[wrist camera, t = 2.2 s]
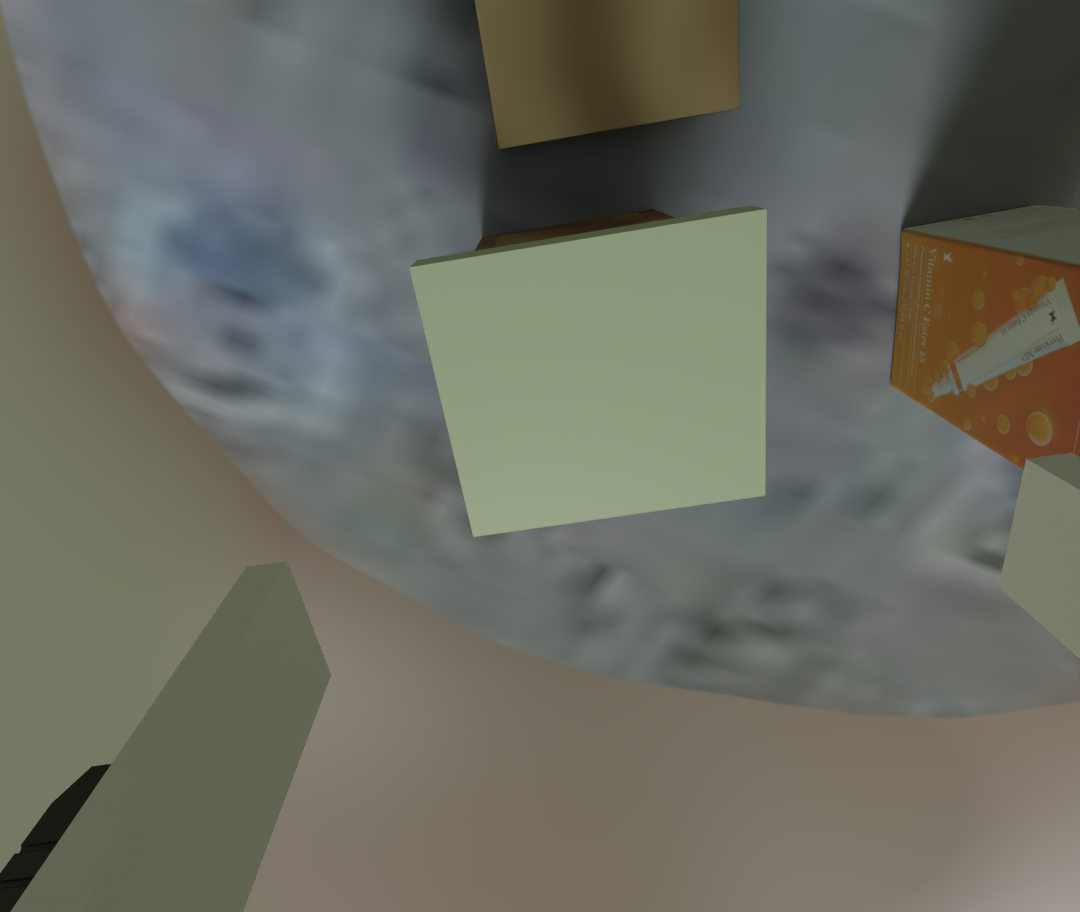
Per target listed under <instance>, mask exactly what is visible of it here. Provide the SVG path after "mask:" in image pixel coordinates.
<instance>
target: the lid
mask: <svg viewBox="0 0 1080 912" xmlns="http://www.w3.org/2000/svg"><path fill="white" fill-rule="evenodd" d="M766 260H767V209H765V208H760V207H755V206H745V207H739V208H732V209H726V210H720V211H714V212H708V213H702V214H696V215H690V216H684V217H678V218H672V219H666V220H659V221H653V222H647V223H641V224H635V225H629V226H623V227H617V228H611V229H605V230H599V231H592V232H586V233H580V234H574V235H568V236H562V237H556V238H550V239H544V240H538V241H532V242H526V243H519V244H513V245H507V246H501V247H495V248H489V249H483V250H477V251H471V252H465V253H459V254H452V255H446V256H440V257H434V258H428V259H422V260H417V261H416V262H415V263H414V264H412V265H411V266H410V267H409V268H410V273H411V277H412V281H413V285H414V289H415V294H416V298H417V302H418V306H419V310H420V315H421V319H422V323H423V327H424V331H425V336H426V340H427V344H428V348H429V352H430V357H431V361H432V365H433V369H434V373H435V378H436V382H437V386H438V390H439V395H440V399H441V403H442V407H443V411H444V416H445V420H446V424H447V428H448V432H449V437H450V441H451V445H452V449H453V453H454V458H455V462H456V466H457V470H458V474H459V479H460V483H461V487H462V491H463V495H464V500H465V504H466V508H467V512H468V516H469V521H470V525H471V529H472V533H473V537H476V536H483V535H490V534H497V533H504V532H511V531H518V530H526V529H533V528H540V527H547V526H554V525H561V524H568V523H575V522H582V521H589V520H596V519H603V518H610V517H617V516H624V515H631V514H638V513H646V512H653V511H660V510H667V509H674V508H681V507H688V506H695V505H702V504H709V503H716V502H723V501H730V500H737V499H744V498H751V497H758V496H765V454H766Z"/></svg>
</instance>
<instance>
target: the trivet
mask: <svg viewBox="0 0 1080 912" xmlns="http://www.w3.org/2000/svg"><path fill="white" fill-rule="evenodd" d="M475 6H476V12H477V18H478V24H479V30H480V36H481V42H482V48H483V54H484V61H485V67H486V73H487V79H488V85H489V91H490V97H491V103H492V109H493V116H494V122H495V128H496V134H497V140H498V146H499V149H505V148H511V147H517V146H523V145H528V144H534V143H540V142H546V141H552V140H558V139H563V138H569V137H575V136H581V135H587V134H592V133H598V132H604V131H610V130H616V129H622V128H627V127H633V126H639V125H645V124H651V123H656V122H662V121H668V120H674V119H680V118H685V117H691V116H697V115H703V114H709V113H715V112H720V111H726V110H731V109H735V108H739V42H738V0H475Z"/></svg>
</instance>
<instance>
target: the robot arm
mask: <svg viewBox="0 0 1080 912" xmlns="http://www.w3.org/2000/svg"><path fill="white" fill-rule="evenodd" d="M999 588H1001V589H1002V590H1003V591H1004V592H1005V593H1006V594H1007V595H1009V596H1010V597H1011V598H1012V599H1013V600H1014V601H1015V602H1016V603H1018V604H1019V605H1020V606H1021V607H1022V608H1023V609H1024V610H1026V611H1027V612H1028V613H1029V614H1030V615H1031V616H1032V617H1033V618H1035V619H1036V620H1037V621H1038V622H1039V623H1040V624H1041V625H1043V626H1044V627H1045V628H1046V629H1047V630H1048V631H1049V632H1051V633H1052V634H1053V635H1054V636H1055V637H1056V638H1057V639H1058V640H1060V641H1061V642H1062V643H1063V644H1064V645H1065V646H1066V647H1068V648H1069V649H1070V650H1071V651H1072V652H1073V653H1074V654H1076V655H1077V656H1078V657H1079V658H1080V457H1079V456H1077V455H1075V454H1073V453H1065V454H1058V455H1051V456H1043V457H1036V458H1029V459H1026V462H1025V467H1024V472H1023V476H1022V481H1021V486H1020V490H1019V495H1018V500H1017V504H1016V509H1015V514H1014V518H1013V523H1012V528H1011V532H1010V537H1009V542H1008V546H1007V551H1006V556H1005V560H1004V565H1003V570H1002V574H1001V579H1000V584H999ZM330 676H331V673H330V671H329V669H328V665H327V663H326V660H325V658H324V655H323V652H322V650H321V647H320V645H319V642H318V639H317V637H316V634H315V632H314V629H313V626H312V624H311V621H310V618H309V616H308V613H307V611H306V608H305V605H304V603H303V601H302V598H301V595H300V593H299V590H298V587H297V585H296V582H295V580H294V577H293V575H292V572H291V569H290V566H289V564H288V562H287V561H285V562H279V563H272V564H263V565H256V566H250V567H246V568H245V569H244V571H243V573H242V574H241V575H240V577H239V578H238V580H237V581H236V583H235V584H234V586H233V587H232V589H231V590H230V591H229V593H228V594H227V596H226V598H225V599H224V600H223V602H222V603H221V605H220V606H219V608H218V609H217V610H216V612H215V613H214V615H213V616H212V618H211V619H210V621H209V622H208V624H207V625H206V626H205V628H204V630H203V631H202V633H201V634H200V635H199V637H198V638H197V640H196V641H195V643H194V644H193V645H192V647H191V649H190V650H189V651H188V653H187V654H186V656H185V657H184V659H183V660H182V662H181V663H180V665H179V666H178V668H177V669H176V670H175V672H174V673H173V675H172V676H171V678H170V679H169V681H168V682H167V684H166V685H165V687H164V688H163V690H162V691H161V692H160V694H159V695H158V697H157V698H156V700H155V701H154V703H153V704H152V705H151V707H150V709H149V710H148V711H147V713H146V714H145V716H144V717H143V719H142V720H141V722H140V723H139V724H138V726H137V727H136V729H135V730H134V732H133V733H132V735H131V736H130V738H129V739H128V741H127V742H126V743H125V745H124V746H123V748H122V749H121V751H120V752H119V754H118V755H117V757H116V758H115V760H114V761H113V762H112V764H109V765H100V766H92V767H91V768H90V769H89V770H88V771H86V772H85V773H84V774H83V775H82V776H81V777H80V778H79V779H78V780H77V781H76V782H75V783H73V784H72V785H71V786H70V787H69V788H68V789H67V790H66V791H65V792H64V793H62V794H61V795H60V796H59V797H58V798H57V799H56V800H55V801H54V802H53V803H52V804H51V805H50V806H49V808H48V809H47V810H46V812H45V813H44V815H43V816H42V817H41V819H40V820H39V821H38V823H37V824H36V825H35V827H34V828H33V829H32V831H31V832H30V834H29V835H28V836H27V838H26V839H25V841H24V842H23V843H22V844H21V851H20V853H18V854H14V855H13V857H12V858H11V860H10V861H9V862H8V864H7V865H6V866H5V868H4V869H3V870H2V872H1V873H0V912H243V910H244V907H245V904H246V902H247V899H248V897H249V894H250V891H251V888H252V886H253V883H254V881H255V878H256V875H257V872H258V869H259V867H260V864H261V862H262V859H263V856H264V854H265V851H266V848H267V845H268V843H269V840H270V837H271V835H272V832H273V829H274V827H275V824H276V821H277V819H278V816H279V813H280V811H281V808H282V805H283V802H284V800H285V797H286V795H287V792H288V789H289V786H290V784H291V781H292V778H293V776H294V773H295V770H296V768H297V765H298V762H299V759H300V757H301V754H302V751H303V749H304V746H305V743H306V741H307V738H308V735H309V733H310V730H311V727H312V725H313V722H314V719H315V716H316V714H317V711H318V708H319V706H320V703H321V700H322V698H323V695H324V692H325V690H326V687H327V684H328V681H329V679H330Z"/></svg>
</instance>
